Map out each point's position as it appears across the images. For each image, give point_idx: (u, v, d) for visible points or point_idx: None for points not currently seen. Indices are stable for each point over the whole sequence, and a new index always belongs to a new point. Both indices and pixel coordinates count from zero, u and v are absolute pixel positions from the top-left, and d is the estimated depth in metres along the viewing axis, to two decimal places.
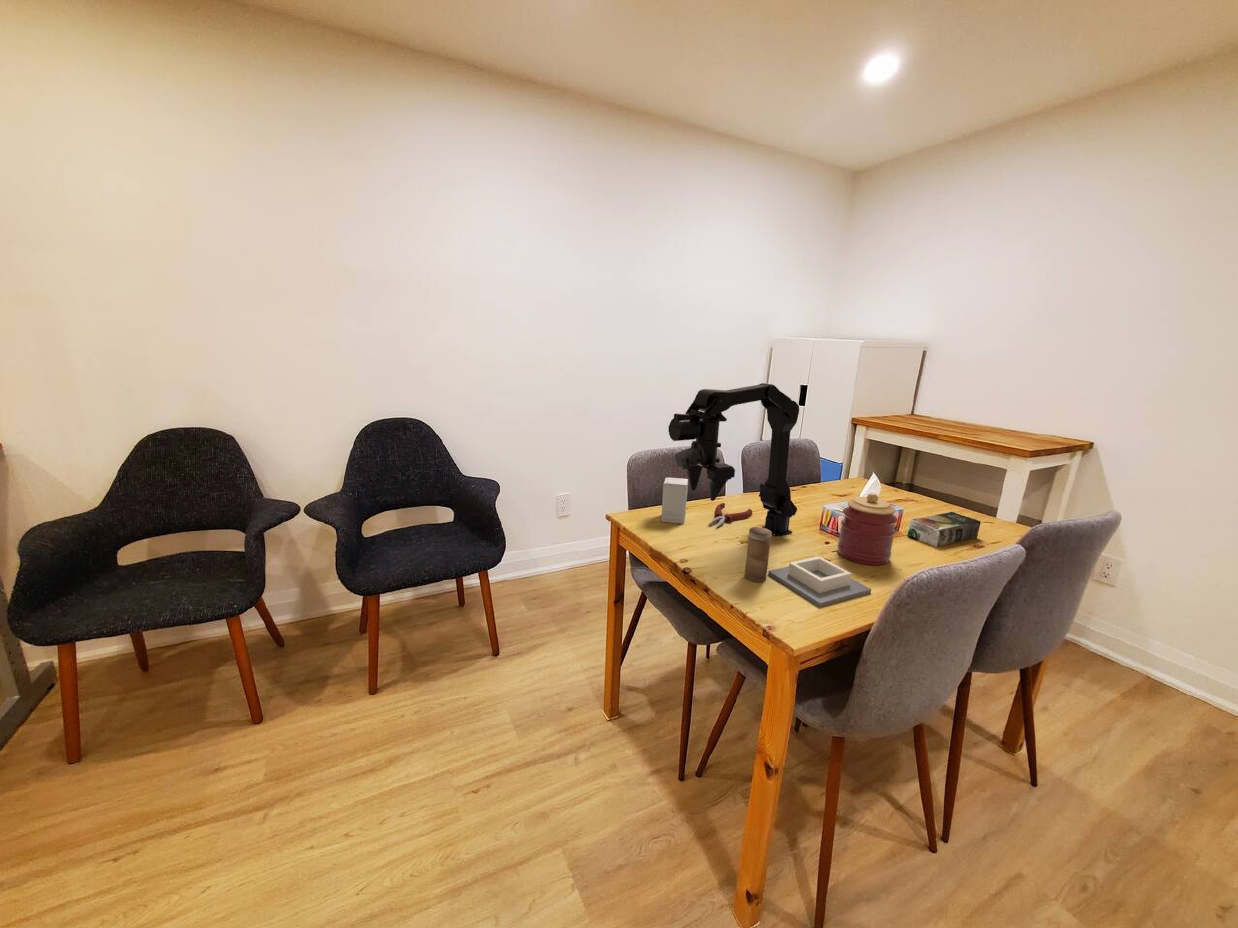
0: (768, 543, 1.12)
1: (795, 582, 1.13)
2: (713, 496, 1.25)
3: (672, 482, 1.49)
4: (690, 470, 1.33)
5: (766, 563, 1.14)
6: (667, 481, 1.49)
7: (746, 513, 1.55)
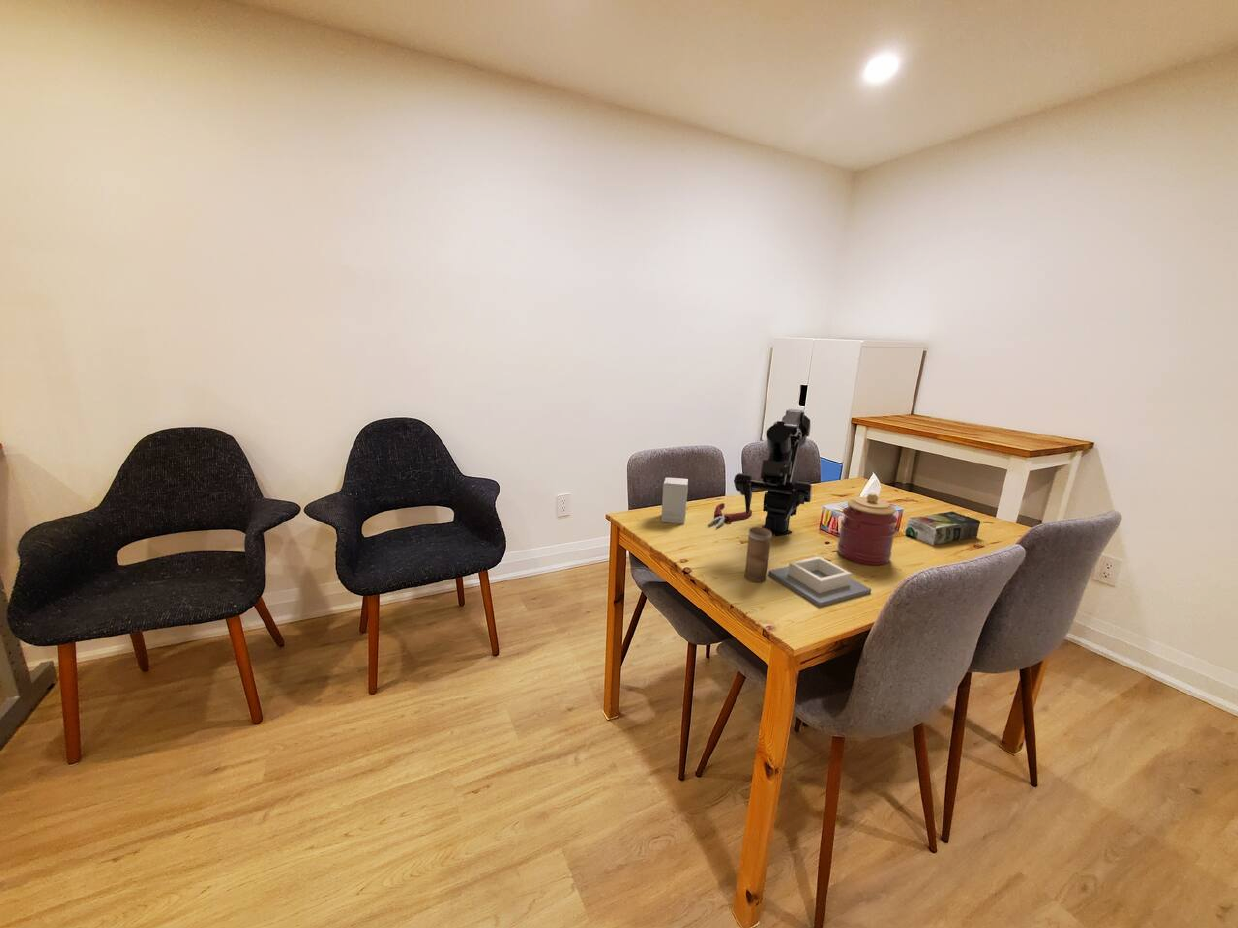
0: (768, 543, 1.12)
1: (795, 582, 1.13)
2: (788, 515, 1.19)
3: (672, 482, 1.49)
4: (749, 491, 1.24)
5: (766, 563, 1.14)
6: (667, 481, 1.49)
7: None
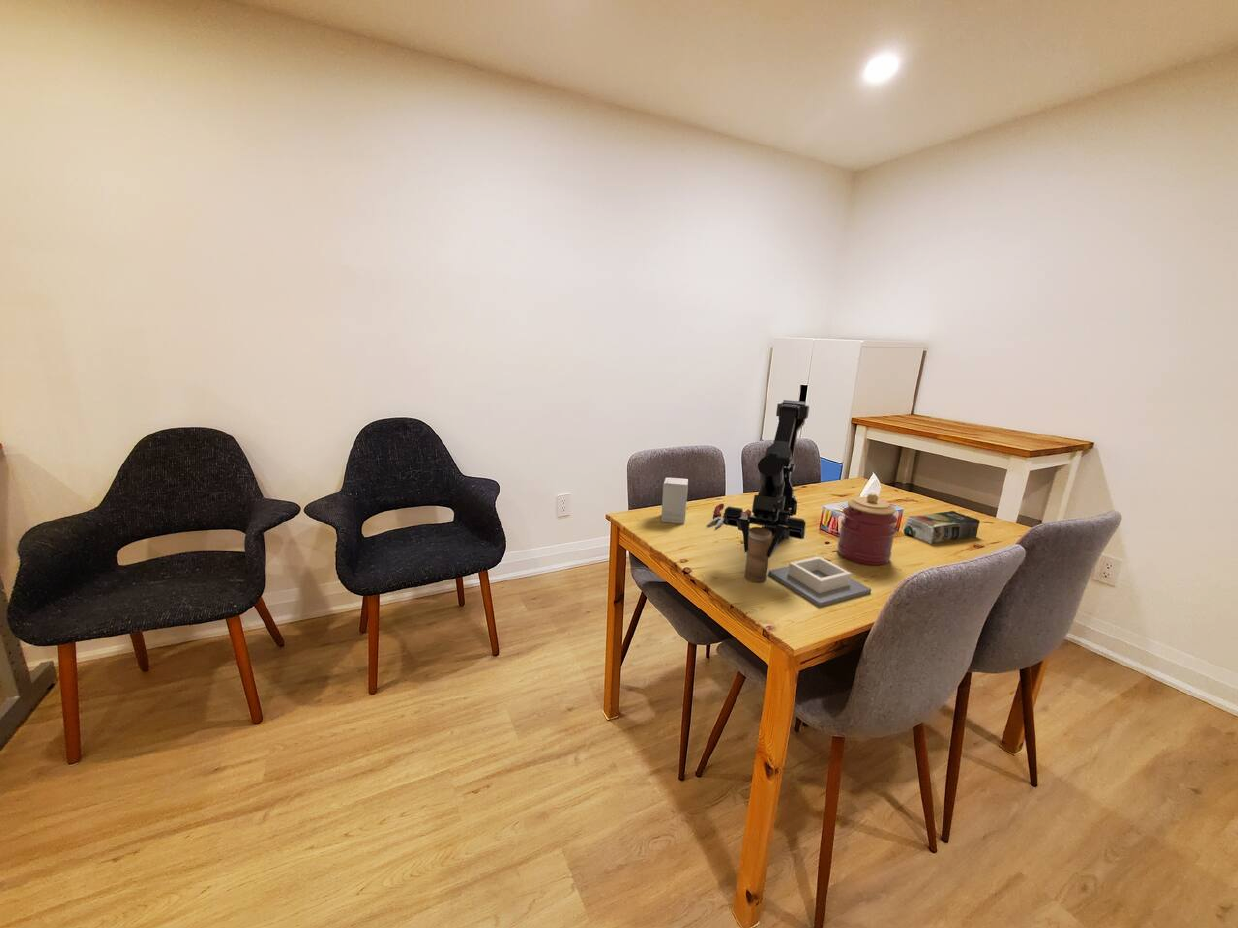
0: (768, 543, 1.12)
1: (795, 582, 1.13)
2: (772, 551, 1.13)
3: (672, 482, 1.49)
4: (748, 528, 1.17)
5: (766, 563, 1.14)
6: (667, 481, 1.49)
7: None
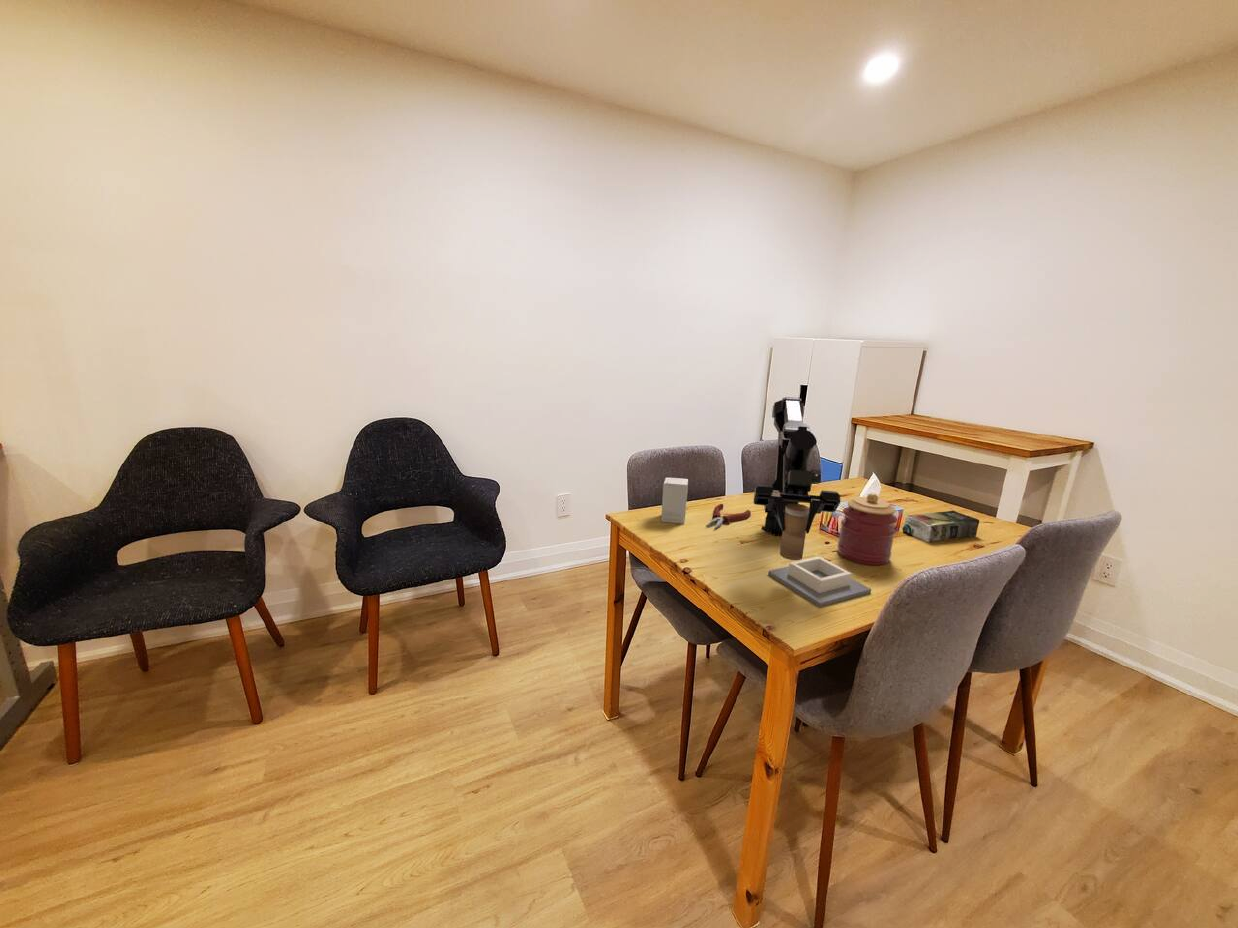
0: (807, 519, 1.09)
1: (795, 582, 1.13)
2: None
3: (672, 482, 1.49)
4: None
5: (804, 539, 1.11)
6: (667, 481, 1.49)
7: (744, 514, 1.54)
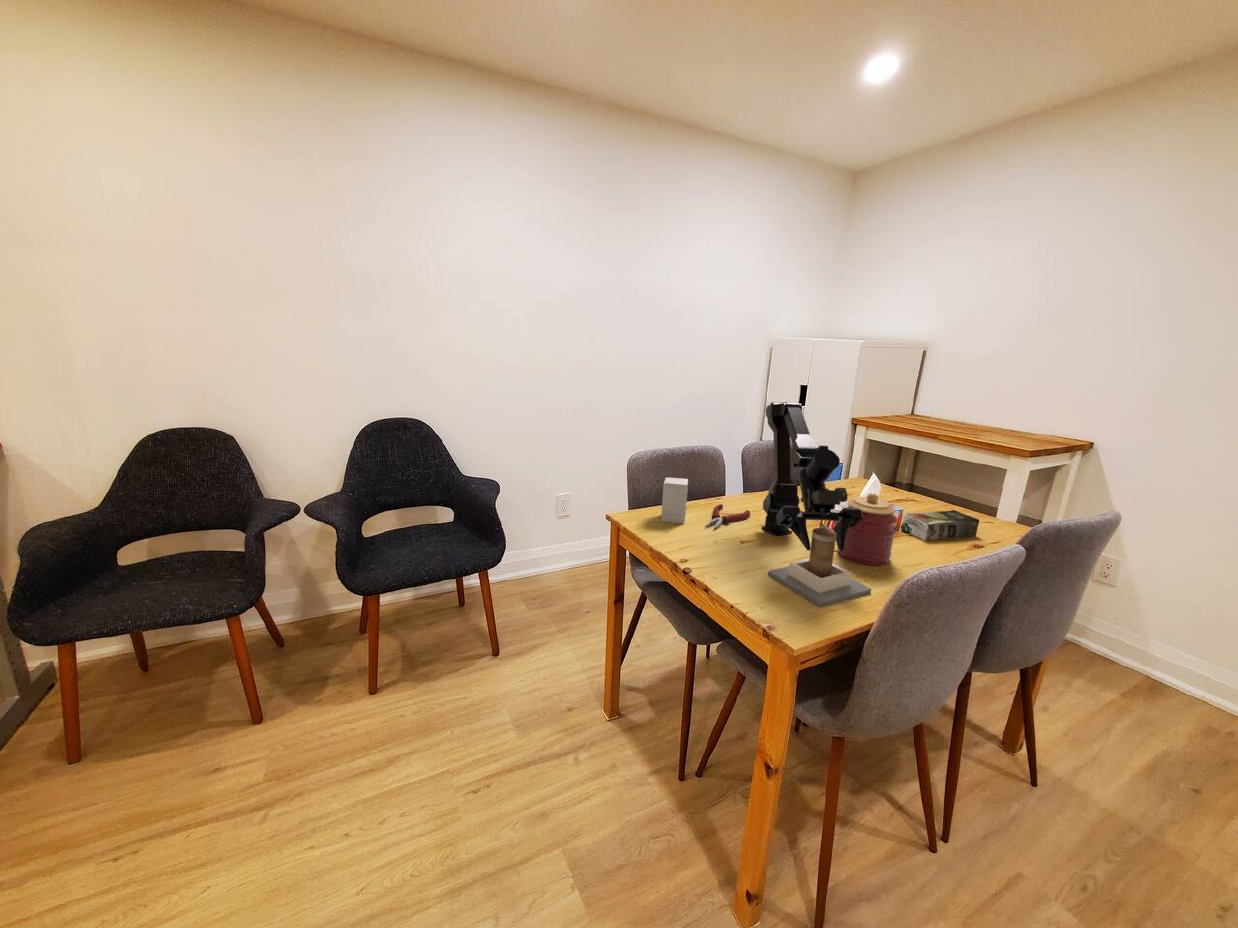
0: (834, 543, 1.11)
1: (795, 582, 1.13)
2: None
3: (672, 482, 1.49)
4: None
5: None
6: (667, 481, 1.49)
7: (744, 514, 1.54)
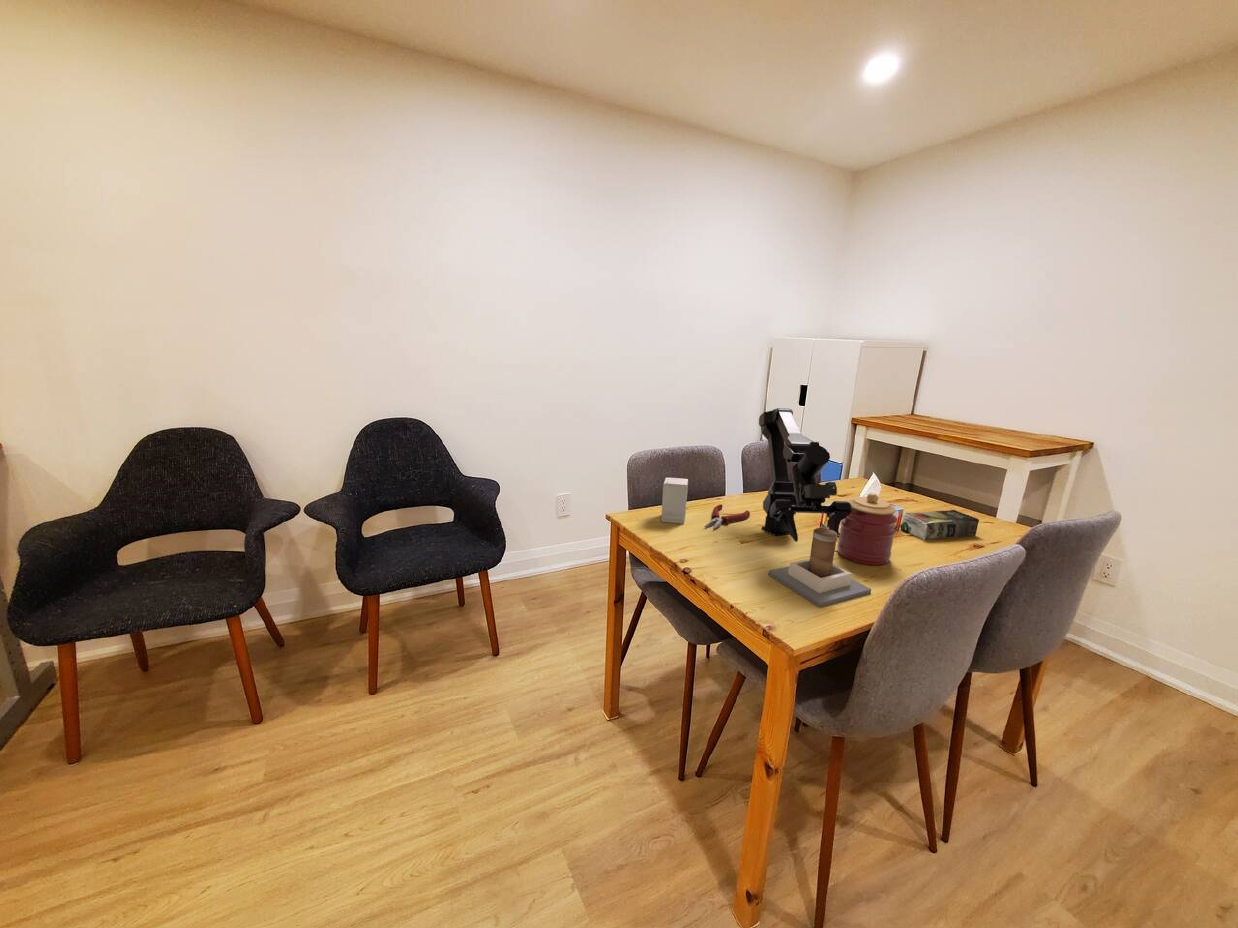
0: (835, 543, 1.11)
1: (795, 582, 1.13)
2: None
3: (672, 482, 1.49)
4: None
5: None
6: (667, 481, 1.49)
7: (743, 515, 1.54)
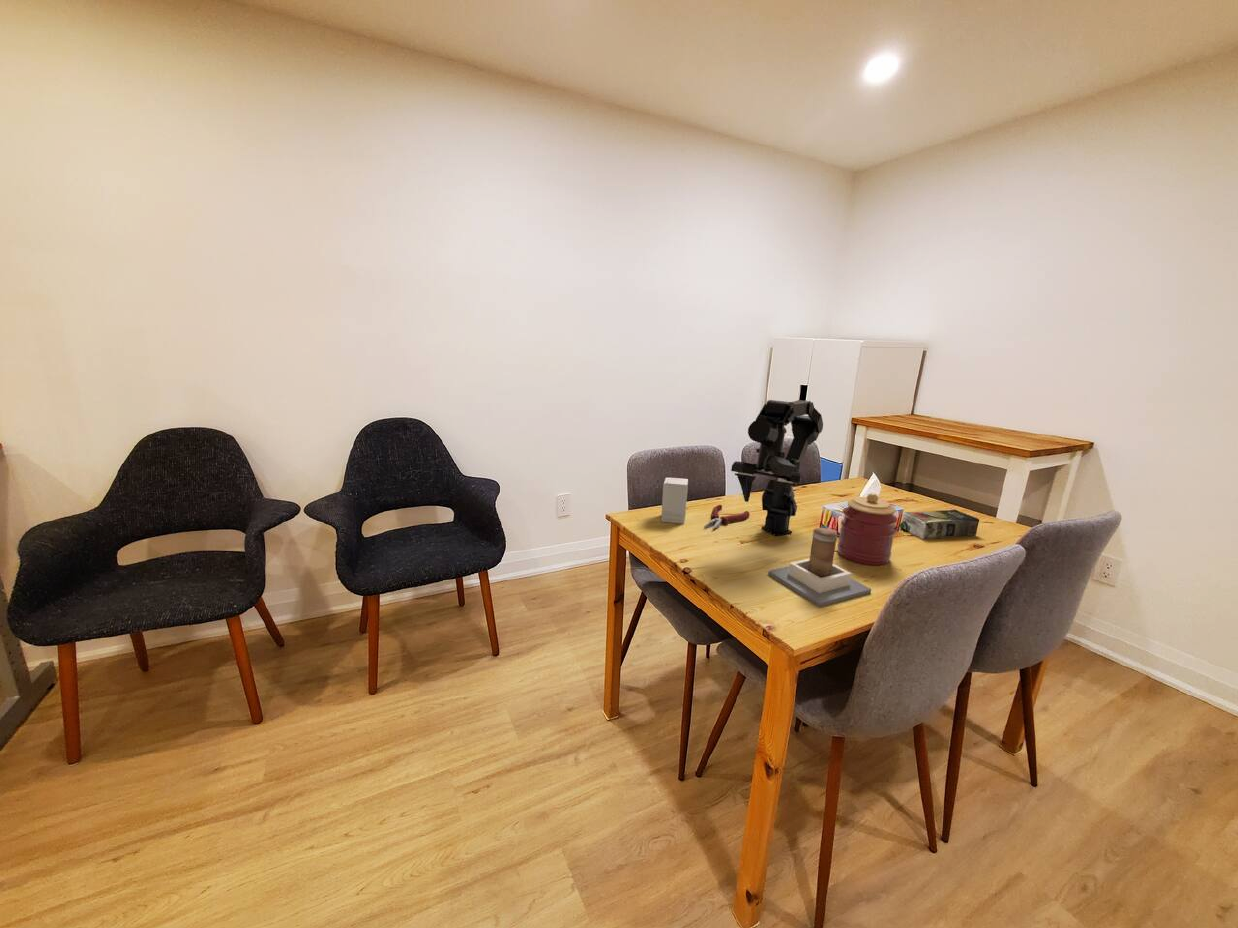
0: (835, 543, 1.11)
1: (795, 582, 1.13)
2: None
3: (672, 482, 1.49)
4: None
5: (832, 563, 1.12)
6: (667, 481, 1.49)
7: (743, 515, 1.53)
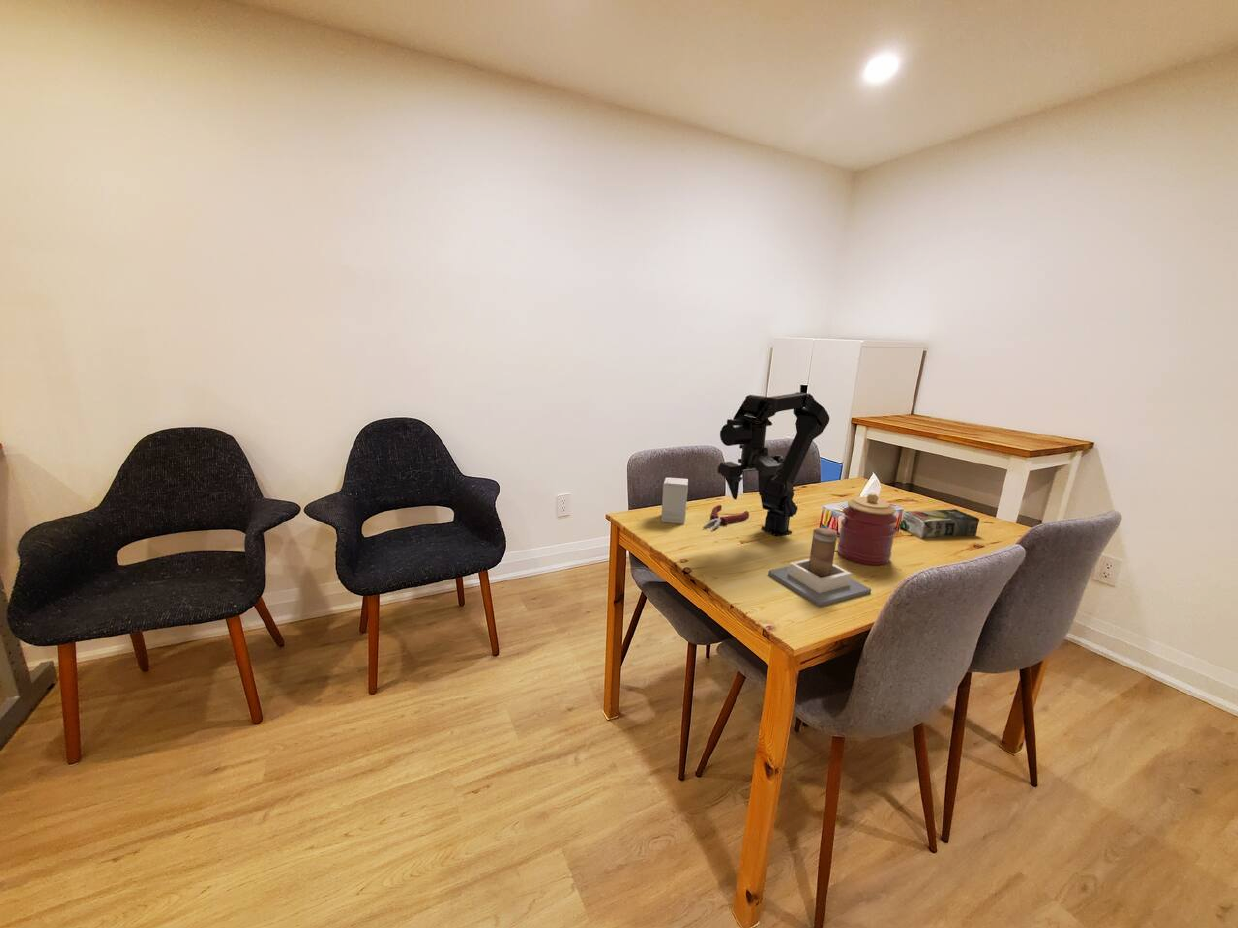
0: (835, 543, 1.11)
1: (795, 582, 1.13)
2: None
3: (672, 482, 1.49)
4: None
5: None
6: (667, 481, 1.49)
7: (742, 515, 1.53)
